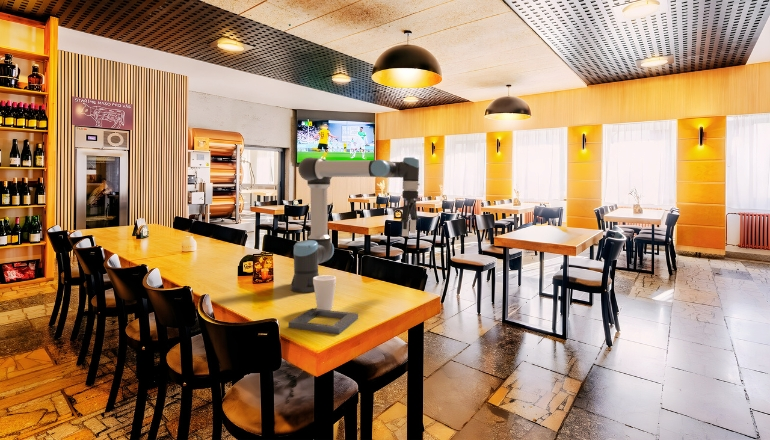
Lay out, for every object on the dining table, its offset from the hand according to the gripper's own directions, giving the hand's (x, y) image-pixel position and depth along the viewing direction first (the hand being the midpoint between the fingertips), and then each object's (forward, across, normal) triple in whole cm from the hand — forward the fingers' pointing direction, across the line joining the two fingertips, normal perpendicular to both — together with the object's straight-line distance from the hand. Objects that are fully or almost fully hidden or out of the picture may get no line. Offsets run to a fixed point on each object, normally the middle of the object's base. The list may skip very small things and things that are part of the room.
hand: (409, 234), depth 191 cm
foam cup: (+29, -38, +25) cm, 54 cm away
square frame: (+29, -54, +17) cm, 63 cm away
